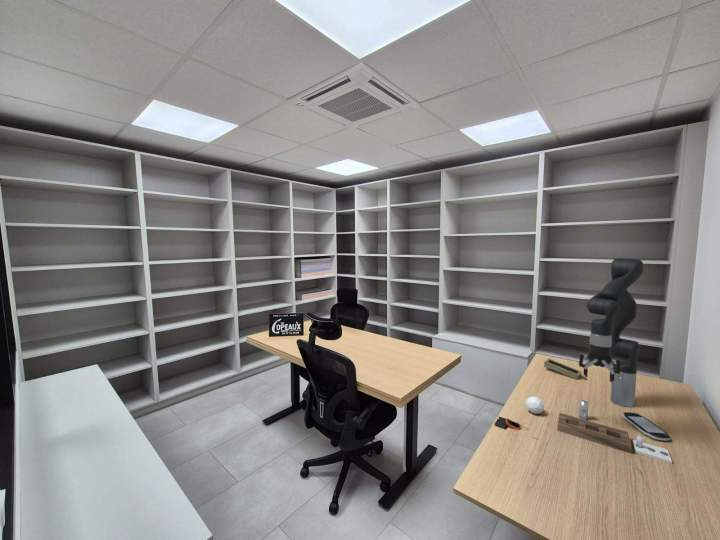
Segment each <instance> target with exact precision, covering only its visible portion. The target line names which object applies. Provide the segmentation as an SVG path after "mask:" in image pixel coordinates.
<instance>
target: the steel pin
mask: <svg viewBox="0 0 720 540" xmlns="http://www.w3.org/2000/svg"><path fill="white" fill-rule="evenodd" d="M578 409H579V412H578V418H580V419H584V420H587V421H588V417H589V416H588V415H589V402H588V401H587V400H584V399H581V400H579V408H578Z"/></svg>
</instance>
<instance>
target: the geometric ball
mask: <svg viewBox="0 0 720 540" xmlns="http://www.w3.org/2000/svg"><path fill="white" fill-rule="evenodd" d="M525 406H526V409H527V410H528V411H529V412H531V413H533V414H534V415H537V414H541V413H542V412H543V411H544V410H545V405H544V401H543V400H542V399H540V398H539V397H537V396H535V395H534V396H530V397H528V398H527V399H526V400H525Z"/></svg>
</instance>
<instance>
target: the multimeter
mask: <svg viewBox="0 0 720 540" xmlns="http://www.w3.org/2000/svg"><path fill="white" fill-rule="evenodd" d="M498 418H499V419H498ZM494 427H498V428H499V429H503V430H506V429H507V428H508V427H510V428H512V429H514V430H517V431H520V429H521V427H522V429H524V430H525V431H528V430H529V428H527V427H525V426H523V425H521V424H520V423H519V422H515V421H513V420H511V419H509V418H505V417H502V416H498V417H497V419H496V421H495V422H494ZM529 437H530V438H533V439H535V440H540V439H539V438H536V437H534V436H529Z"/></svg>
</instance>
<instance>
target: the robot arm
mask: <svg viewBox="0 0 720 540" xmlns="http://www.w3.org/2000/svg"><path fill="white" fill-rule="evenodd" d="M643 272H644V263H643V261H642V260H641V259H637V258H620V257H619V258H617V257H616V258H614V259H613V260H612V261H611V265H610V273H611V274H610V275H611V281H609V282H608V283H607V284H605V285H604V287H603V288H602V289H601V291H600V292H598V293H596V294H595V295H593V296H592V297H590V298H589V300H588V301H587V304H586V308H587V311H588V312H589V313H591V314H595V315H599V316H605V318H603V319H601V318H600V319H599V318H597V319H592V321H591V325H590V334H589V343H588V344H589V347H588V353H587V354H586V353H584V352H580V353H579V362H578V367H580V368H583V375H584V377H586V378H588V373H589V371H588V370H589V368H590V367H592V366H596V367H602V368H606V369H607V370H608V371H609V382H610V383H611V387H610V401H611V402H612V403H614V404H616V405H618V406H622V407H627V408H628V407H629V408H633V407H634V406H635V400H636V398H635V397H636V389H637V387H636V385H637V384H636V383H637V371H638V360H639V354H640V344H639V342H638V341H636V340H633V339H632V340H631V339H627V338H622V337H620V336H621V334H622V333H623V331H624V330H625V328H627V327H628V326H629V325H630V324H631V323H633V321H635V319H636V318H637V302H636V300H635V298H634V297H633V295H631V294H630V292H629V291H628V289H629V288H630V287H631V286H632V285H633V284H635V282H636V281H637V280H639V278H640V277H641V276H642V274H643ZM611 355H614V356H616V357H617V358H612V356H611ZM618 357H622V358H624V359H625V358H626V359H628V360H620V358H618ZM586 358H587V359H588V361H587V362H586V363H585V364H584V363H583V362H584V359H586ZM612 362H613V363H612ZM610 363H612V366H611V365H610Z"/></svg>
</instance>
